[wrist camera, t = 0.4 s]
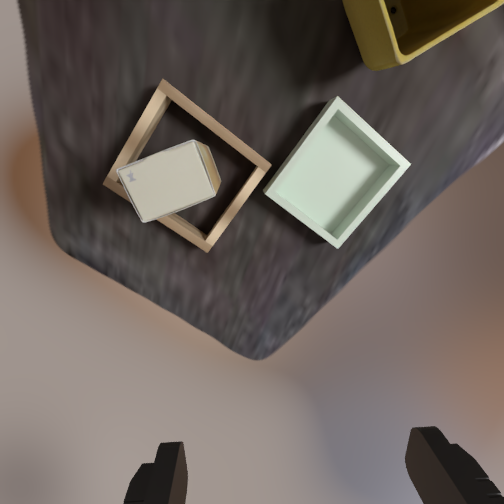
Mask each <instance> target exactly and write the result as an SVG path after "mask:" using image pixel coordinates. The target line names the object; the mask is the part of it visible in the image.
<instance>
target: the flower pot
mask: <svg viewBox="0 0 504 504" xmlns="http://www.w3.org/2000/svg"><path fill="white" fill-rule="evenodd" d="M342 1H343V5H344V9H345V11H346V14H347V17H348V19H349V22H350V25H351V28H352V31H353V33H354V36H355V39H356V42H357V45H358V47H359V50H360V53H361V56H362V59H363V61H364V63H365V65H366V66H367V67H368V68H369V69H371V70H374V71H378V70H383V69H387V68H391V67H394V66H398V65H402V64H405V63H407V62H409V61H410V60H412V59H413V58H415V57H416V56H418V55H420V54H421V53H423V52H425V51H426V50H428V49H429V48H431V47H433V46H434V45H436V44H438V43H439V42H441V41H442V40H444V39H446V38H447V37H449V36H451V35H453V34H454V33H456V32H458V31H459V30H461V29H463V28H464V27H466V26H467V25H469V24H471V23H472V22H474V21H476V20H478V19H479V18H481V17H483V16H484V15H486V14H487V13H489V12H491V11H493V10H494V9H496V8H498V7H499V6H501V5H502V4H504V0H342ZM392 7H394V8H396V12H395V14H392V13H391V8H392Z"/></svg>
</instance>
